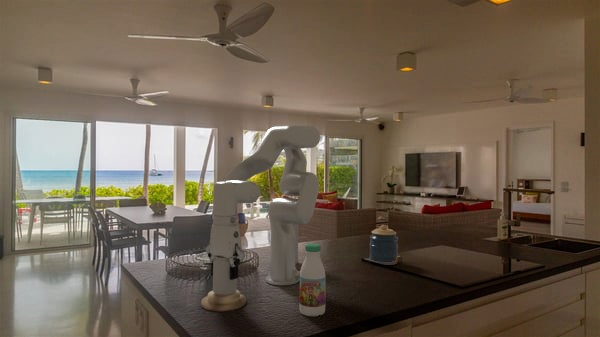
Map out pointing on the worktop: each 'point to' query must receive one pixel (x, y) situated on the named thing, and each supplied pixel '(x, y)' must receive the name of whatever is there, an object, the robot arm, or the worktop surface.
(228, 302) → the plinth
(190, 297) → the worktop surface
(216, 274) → the can
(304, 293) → the milk bottle
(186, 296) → the worktop surface
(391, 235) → the canister
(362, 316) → the worktop surface
